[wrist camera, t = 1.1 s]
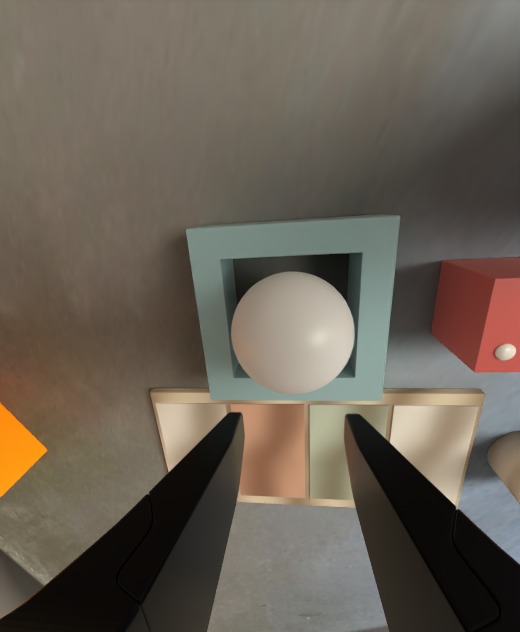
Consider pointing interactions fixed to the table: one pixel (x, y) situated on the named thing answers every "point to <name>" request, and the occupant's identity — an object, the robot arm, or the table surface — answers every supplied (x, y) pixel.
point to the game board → (325, 439)
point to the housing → (291, 240)
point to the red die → (480, 312)
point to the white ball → (292, 332)
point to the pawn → (507, 461)
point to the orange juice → (15, 449)
